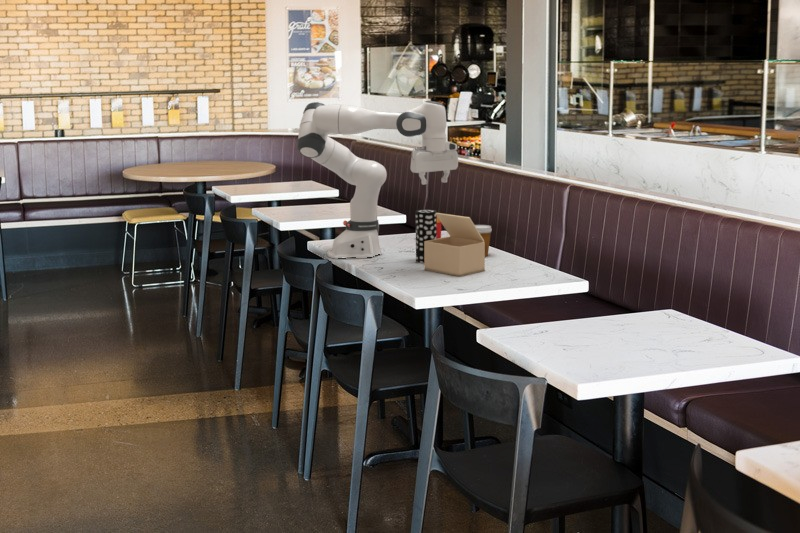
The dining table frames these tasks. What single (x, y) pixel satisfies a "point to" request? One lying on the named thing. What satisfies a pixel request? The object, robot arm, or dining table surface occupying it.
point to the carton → (454, 256)
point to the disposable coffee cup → (485, 235)
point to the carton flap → (460, 227)
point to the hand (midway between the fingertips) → (434, 183)
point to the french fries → (438, 228)
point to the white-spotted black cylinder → (424, 231)
